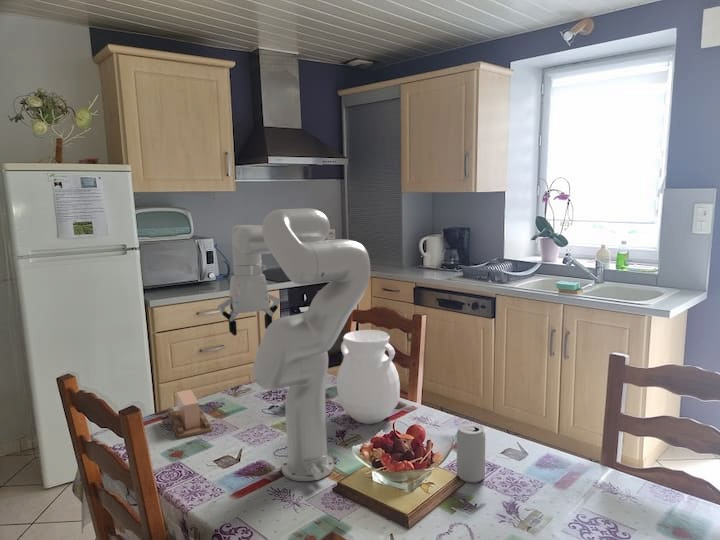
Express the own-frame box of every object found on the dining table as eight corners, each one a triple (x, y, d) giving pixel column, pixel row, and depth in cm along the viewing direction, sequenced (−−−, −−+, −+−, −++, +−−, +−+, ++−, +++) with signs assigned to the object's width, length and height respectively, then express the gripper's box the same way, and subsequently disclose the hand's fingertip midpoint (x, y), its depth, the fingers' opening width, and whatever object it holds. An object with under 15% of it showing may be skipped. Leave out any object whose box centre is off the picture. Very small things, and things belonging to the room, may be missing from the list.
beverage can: (483, 486, 120) (483, 435, 118) (454, 481, 122) (454, 432, 120) (486, 472, 126) (487, 424, 124) (459, 468, 128) (459, 420, 126)
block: (192, 411, 163) (190, 389, 162) (200, 426, 152) (198, 402, 151) (178, 414, 161) (176, 392, 160) (185, 429, 150) (184, 405, 149)
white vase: (324, 422, 155) (321, 338, 152) (359, 401, 170) (358, 324, 167) (379, 437, 145) (377, 347, 141) (411, 413, 160) (411, 331, 156)
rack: (211, 431, 151) (211, 424, 151) (178, 439, 147) (177, 431, 146) (198, 409, 167) (197, 402, 166) (167, 415, 162) (167, 408, 162)
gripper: (273, 266, 153) (276, 324, 155) (212, 271, 145) (216, 333, 147) (282, 269, 146) (285, 330, 149) (219, 275, 138) (223, 339, 140)
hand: (251, 331), depth 148 cm, fingers open, 9 cm apart
